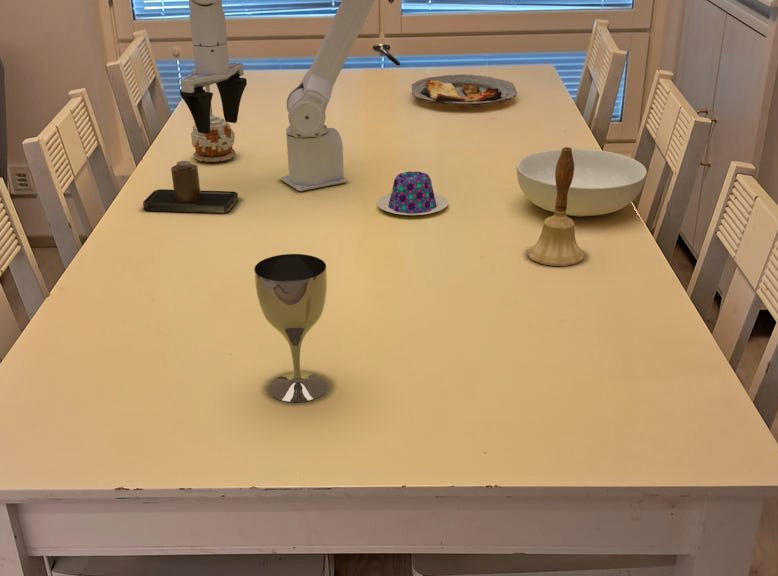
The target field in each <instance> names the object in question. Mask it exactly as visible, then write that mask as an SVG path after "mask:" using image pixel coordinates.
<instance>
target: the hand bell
mask: <svg viewBox="0 0 778 576" xmlns="http://www.w3.org/2000/svg"><path fill="white" fill-rule="evenodd" d="M561 149H562V152H561V155H560V157H559V159H558V162H557V165H556V172H555V180H556V187H557V198H556V206H555V211H554V212H553V215H551V216H548V217H547V218H545V219H544V221H543V226H542V228H541V232H540V235H539V237H538V240H537V241H536V243H534V244H533V245H532V246H531V247H530V248H529V250H528V251H527V256H528V258H529V259H530V260H531V261H533V262H536V263H538V264H541V265H546V266H552V267H565V266H566V267H568V266H573V265H577V264H579V263H580V262H582V261H583V260H584V258H585V254H584V252H583V250H582V249H581V248H580V247H579V245H578V243H577V240H576V233H575V231H576V230H575V221H574V220H573V219H572V218H570V217H569V216H568V215H566V210H567V196H568V190H569V188H570V185H571V183H572V179H573V174H574V160H573V156H572V149H573V148H572V147H568V146H566V147H565V146H564V147H562V148H561Z"/></svg>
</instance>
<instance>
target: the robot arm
mask: <svg viewBox="0 0 778 576" xmlns="http://www.w3.org/2000/svg"><path fill="white" fill-rule="evenodd" d="M375 2H376V0H341V1H340V4H339V5H338V8H337V11H336V12H335V13H334V14H335V15H334V16H333V19H332V21H331V22H330V25H329V26H328V28H327V31H326V33H325V35H324V38H323V39H322V42H321V44H320V46H319V48H318V50H317V52H316V54H315V56H314V59H313V60H312V62H311V65H310V67H309V69H308V70H307V72H306V73H305V74H304V75H303V76H302V80H301V81H300V83H299V84H298V85H297V86H296V87H295V88H293V89H292V90H291V91H290V93H289V95H288V96H287V98H286V109H287V113H288V117H287V118H288V123H289V125H288V126H287V128H286V129H285V132H286V149H287V150H286V151H287V162H288V163H287V166H288V168H287V169H288V175H284V176H281V177H280V180H281V181H282V182H284V183H285V184H287V185H288V186H290V187H291V188H293V189H294V190H296V191H298V192H303V191H308V190H315V189H319V188H324V187H330V186H335V185H339V184H340V185H341V184H344V183H346V182H347V179H345V172H344V168H345V167H344V145H343V140H342V137H341V134H340V133H339V131H338V130H337V129H336V128H334V127H328V126H327V125H326V124H325V123H326V110H327V107H328V104H329V103H330V100H331V97H332V93H333V89H334V86H335V84H336V81H337V80H338V78H339V76H340V73H341V71H342V70H343V67H344V65H345V63H346V61H347V59H348V57H349V55H350V53H351V51H352V49H353V47H354V44H355V43H356V40H357V38H358V36H359V34H360V32H361V30H362V28H363V26H364V25H365V22H366V20H367V18H368V17H369V16H368V15H369V14H370V12H371V10H372V7H373V6H374V3H375ZM188 8H189V10H190V13H189V24H190V33H191V43H192V44H191V45H192V53H193V62H194V68H192V69H191V70H190V74H188V75H187V76H185V77H184V78H181V79H180V80H179V82H180V90H179V95H180V97H181V99H182V100H183V101H184V103H185V104H186V106H187V108H188V110H189V112H190V114H191V117H192V119H193V121H194V125H195V124H196V127H197V130H198V133H204V134H208V133H210V106H211V105H212V101H213V100H212V99H213V97H214V93H213V92H211V91H210V92H206V89H204V88H205V87H206V86H208V85H209V86H211V85H216V88H217V90H218V92H219V96H220V100H221V106H222V107H221V108H222V113H223V119H224V120H225V122H227V123H229V124H230V123H232V124H236V123H237V122H238V116H239V110H240V104H241V101H242V96H243V94H244V92H245V89H246V88H247V87H246V86H247V84H248V82H247V78H245V77H242V76H244V75H245V73H244V72H245V71H244V63H241V62H236V61H235V62H230V59H229V47H228V37H227V36H228V35H227V26H226V13H225V11H224V9H223V0H188Z"/></svg>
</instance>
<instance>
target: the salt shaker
mask: <svg viewBox="0 0 778 576" xmlns="http://www.w3.org/2000/svg"><path fill="white" fill-rule="evenodd" d="M170 172H171V179H172V187H173V188H172V189H173V190H174V195H175V201H176V202H178V203H184V204H188V203H195V202H198V201H200V200H201V193H200V191H201V186H200V184H201V183H200V177H199V167H198V165H197V164H194V163H192V162H191V161H190V160H180V161H177V162H176V165H173V166H172V167H171V168H170Z"/></svg>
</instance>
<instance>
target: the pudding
mask: <svg viewBox="0 0 778 576" xmlns="http://www.w3.org/2000/svg"><path fill="white" fill-rule="evenodd" d="M376 205H377V207H378V208H379V209H380V210H383V211H384V212H387V213H391V214H396V215H402V216H403V215H404V216H422V215H428V214H429V215H430V214H432V213H437V212H441V211H442V210H444V209H445V208H447V207H448V205H449V200H448V199H447V198H446V196H443V195H441V194H438V193H435V192H434V188H433V183H432V179H431V177H430V175H429V174H428V173H426V172H421V171H404V172H400V173H398V174H397V175H396V176H395V178H394V180H393V185H392V190H391V192H390V193H388V194H385V195H383V196H381V197H380V198H378V199H377V201H376Z"/></svg>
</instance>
